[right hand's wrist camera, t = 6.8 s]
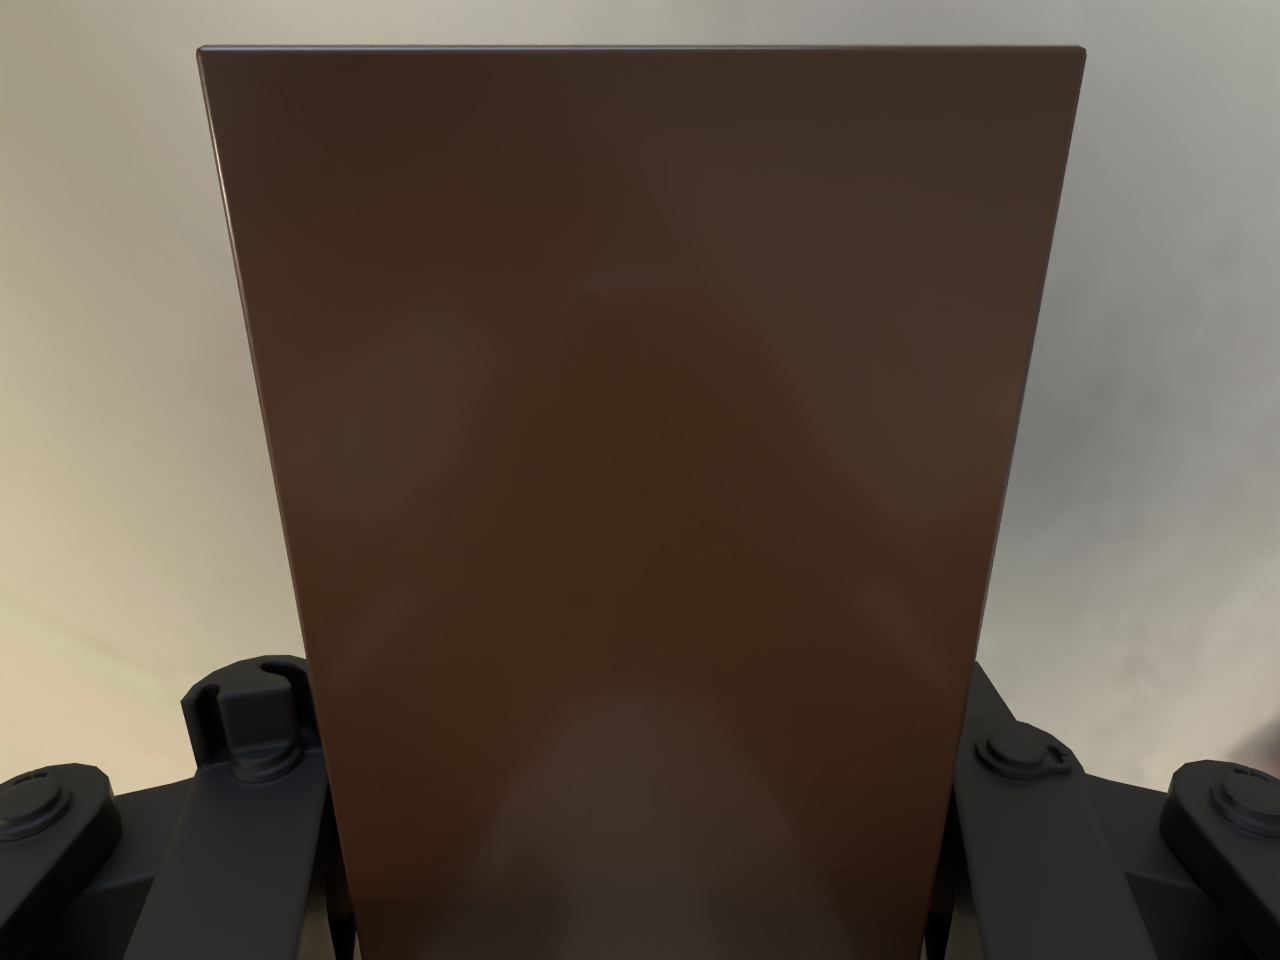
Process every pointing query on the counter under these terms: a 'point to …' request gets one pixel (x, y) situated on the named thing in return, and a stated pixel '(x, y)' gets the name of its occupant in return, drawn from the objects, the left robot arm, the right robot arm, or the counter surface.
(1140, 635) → the counter surface
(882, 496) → the walnut bar
